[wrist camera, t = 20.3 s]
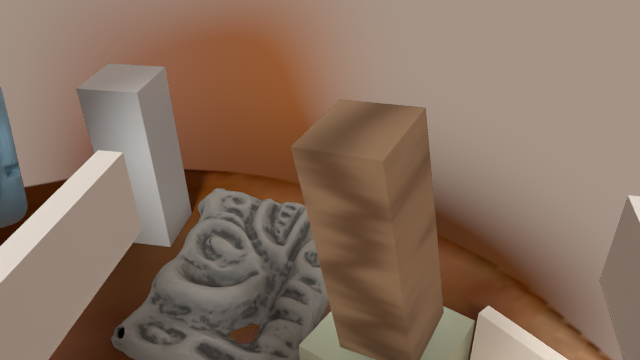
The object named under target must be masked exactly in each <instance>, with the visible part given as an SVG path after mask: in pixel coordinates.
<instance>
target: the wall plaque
mask: <svg viewBox="0 0 640 360" xmlns="http://www.w3.org/2000/svg"><path fill="white" fill-rule="evenodd" d="M198 210H199V213H200V215H201V217H200V219H199V221H198V223H197V225H195V226H194V227H193V228H192V229H191V231H190V232H189V233H188V235H187V237H186V239H185V243H184V246H183V248H182V250H181V251H180V252H179V254H178V255H177V256H176V257H175V258H174V259H173V260H171V261H170V262H168V263H167V264H166V265H164V266H163V267H162V268H161V270H160V271H159V272H158V274H157V275H156V277H155V279H154V280H153V282H152V285H151V291H150V293H149V295H148V297H147V299H146V300H145V301H144V303H143V304H142V305H141V306H140V307H139V308H138V309H137V310H136V311H135V312H133V313H132V314H131V315H130V316H129V317H128V318H126V319H125V320H124V321H123V322H122V323H121V324H120V325H118V326H117V328H116V329H115V330H114V335H113V336H112V338H111V341H112V343H113V346H114V347H115V348H116V349H118V350H120V351H121V352H123V353H125V354H126V355H127V356H128V357H129V358H133V359H134V360H300V358H299V345H300V344H301V343H302V341H303V340H304V339H305V338H306V337H307V336H308V335H309V334H310V333H311V332H312V331H313V330H314V329H315V328H316V326H317V324H318V322H319V321H320V319H321V317H322V315H323V313H324V312H325V310H326V308H327V306H328V303H329V299H328V295H327V291H326V287H325V283H324V279H323V275H322V271H321V267H320V263H319V259H318V255H317V251H316V247H315V243H314V239H313V234H312V230H311V226H310V222H309V218H308V214H307V210H306V206H304V205H301V204H298V203H292V202H285V203H283V204H279V203H277V202H275V201H273V200H272V199H266V200H264V201H262V200H259V199H257V198H255V197H252V196H250V195H247V194H245V193H242V192H236V191H226V190H225V189H218V188H217V189H215V190H213V192H212V193H210V194H209V195H207V196H206V197H205V198H204V199H203V200H202V201H201V202H200V203H199V205H198ZM278 231H279V234H278ZM209 241H210V243H209ZM250 323H253V324H259V325H260V327H259V333H258V335H257V337H256V338H255V340H254V341H253V342H252V343H244V344H240V343H238V342H236V341H235V340H233V339H232V338H231V337H230V336H229V334H230V333H231V331H233V330H236V329H240V328H242V327H245V326H247V325H249V324H250ZM123 328H124V331H125V333H124V336H123V338H119V336H118V334H119V333H120V332H121V330H122V329H123Z"/></svg>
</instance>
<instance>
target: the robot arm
mask: <svg viewBox="0 0 640 360" xmlns="http://www.w3.org/2000/svg"><path fill="white" fill-rule="evenodd" d="M27 208H28V204H27V198H26V194H25V190H24V185H23V181H22V177H21V173H20V168H19V164H18V159H17V154H16V149H15V145H14V140H13V136H12V131H11V127H10V123H9V118H8V114H7V110H6V106H5V101H4V97H3V93H2V90H1V87H0V228H3V227H6V226H9V225H13V224H15V223H17V222H19V221H20V220H21V219H22V218H23V217H24V216H25V214H26V212H27ZM141 231H142V227H141V223H140V219H139V215H138V211H137V207H136V203H135V199H134V195H133V191H132V187H131V183H130V179H129V175H128V171H127V167H126V163H125V159H124V155H123V152H112V151H101V150H98V151H97V152H96V153H95V154H94V155H93V156H92V157H91V158H90V159H89V160H88V161H86V162H85V164H83V165H82V166H81V167H80V168H79V169H78V170H77V171H76V172H75V173H74V175H72V176H71V177H70V178H69V179H68V180H67V181H66V182H65V183H64V184H63V185H62V186H61V187H60V188H59V189H58V190H57V191H56V192H55V193H54V194H53V195H52V196H51V197H50V198H49V199H48V200H47V201H46V202H45V203H44V204H43V205H42V206H41V207H40V208H39V209H38V210H37V211H36V212H35V213H34V214H33V215H32V216H31V217H30V218H29V219H28V220H27V221H26V222H25V223H24V224H23V225H22V226H21V227H19V228H18V229H17V230H16V231H15V232H14V233H13V234H12V235H11V236H10V237H9V238H8V239H7V240H6V241H5V242H4V243H3V244H0V360H48V359H49V358H50V357H51V355H52V354H53V353H54V351H55V350H56V348H57V347H58V346H59V344H60V343H61V341H62V340H63V339H64V337H65V336H66V335H67V333H68V332H69V330H70V329H71V328H72V326H73V325H74V324H75V322H76V321H77V319H78V318H79V317H80V315H81V314H82V312H83V311H84V310H85V308H86V307H87V306H88V304H89V303H90V301H91V300H92V299H93V297H94V296H95V295H96V293H97V292H98V290H99V289H100V288H101V286H102V285H103V283H104V282H105V281H106V279H107V278H108V277H109V275H110V274H111V272H112V271H113V270H114V268H115V267H116V266H117V264H118V263H119V261H120V260H121V259H122V257H123V256H124V254H125V253H126V252H127V250H128V249H129V248H130V246H131V245H132V243H133V242H134V241H135V239H136V238H137V236H138V235H139V234H140V232H141ZM599 281H600V284H601V287H602V290H603V294H604V297H605V300H606V303H607V307H608V310H609V313H610V317H611V320H612V324H613V327H614V330H615V333H616V337H617V340H618V343H619V346H620V350H621V353H622V357H623V359H624V360H640V197H639V196H628V197H627V200H626V203H625V206H624V209H623V212H622V215H621V218H620V221H619V224H618V227H617V230H616V233H615V236H614V239H613V242H612V245H611V248H610V251H609V253H608V256H607V259H606V262H605V265H604V269H603V271H602V274H601V277H600V280H599Z"/></svg>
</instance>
